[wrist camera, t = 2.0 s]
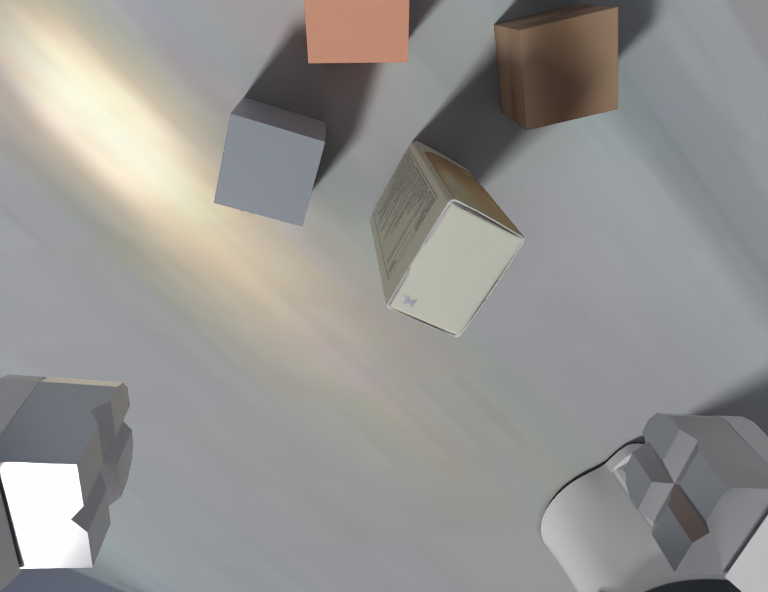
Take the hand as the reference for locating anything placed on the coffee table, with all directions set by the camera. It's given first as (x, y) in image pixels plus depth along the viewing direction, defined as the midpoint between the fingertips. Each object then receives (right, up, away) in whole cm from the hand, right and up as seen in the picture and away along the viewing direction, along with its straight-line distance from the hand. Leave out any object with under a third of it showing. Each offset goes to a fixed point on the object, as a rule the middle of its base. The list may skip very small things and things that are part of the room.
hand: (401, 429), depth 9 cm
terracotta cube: (-2, +18, +22) cm, 29 cm away
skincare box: (+2, +9, +28) cm, 29 cm away
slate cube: (-7, +11, +26) cm, 29 cm away
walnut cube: (+9, +16, +25) cm, 31 cm away
